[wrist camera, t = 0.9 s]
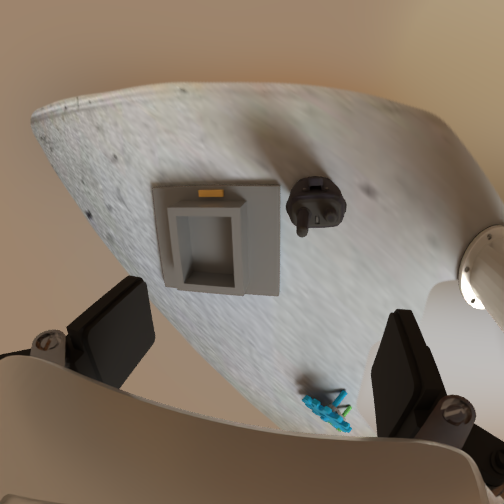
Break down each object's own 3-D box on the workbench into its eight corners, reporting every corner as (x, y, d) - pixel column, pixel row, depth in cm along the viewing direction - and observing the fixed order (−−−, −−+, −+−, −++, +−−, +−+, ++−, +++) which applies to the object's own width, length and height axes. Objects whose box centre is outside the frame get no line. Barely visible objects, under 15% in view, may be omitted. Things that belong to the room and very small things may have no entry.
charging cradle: (280, 185, 34) (275, 191, 30) (279, 292, 39) (275, 310, 35) (156, 186, 37) (138, 193, 33) (168, 283, 42) (154, 298, 38)
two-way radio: (292, 205, 34) (278, 253, 21) (289, 168, 33) (273, 189, 19) (339, 204, 33) (357, 251, 20) (337, 166, 32) (358, 187, 18)
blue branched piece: (290, 393, 44) (333, 419, 35) (313, 367, 46) (358, 387, 37) (316, 421, 47) (355, 444, 39) (336, 397, 50) (376, 417, 41)
